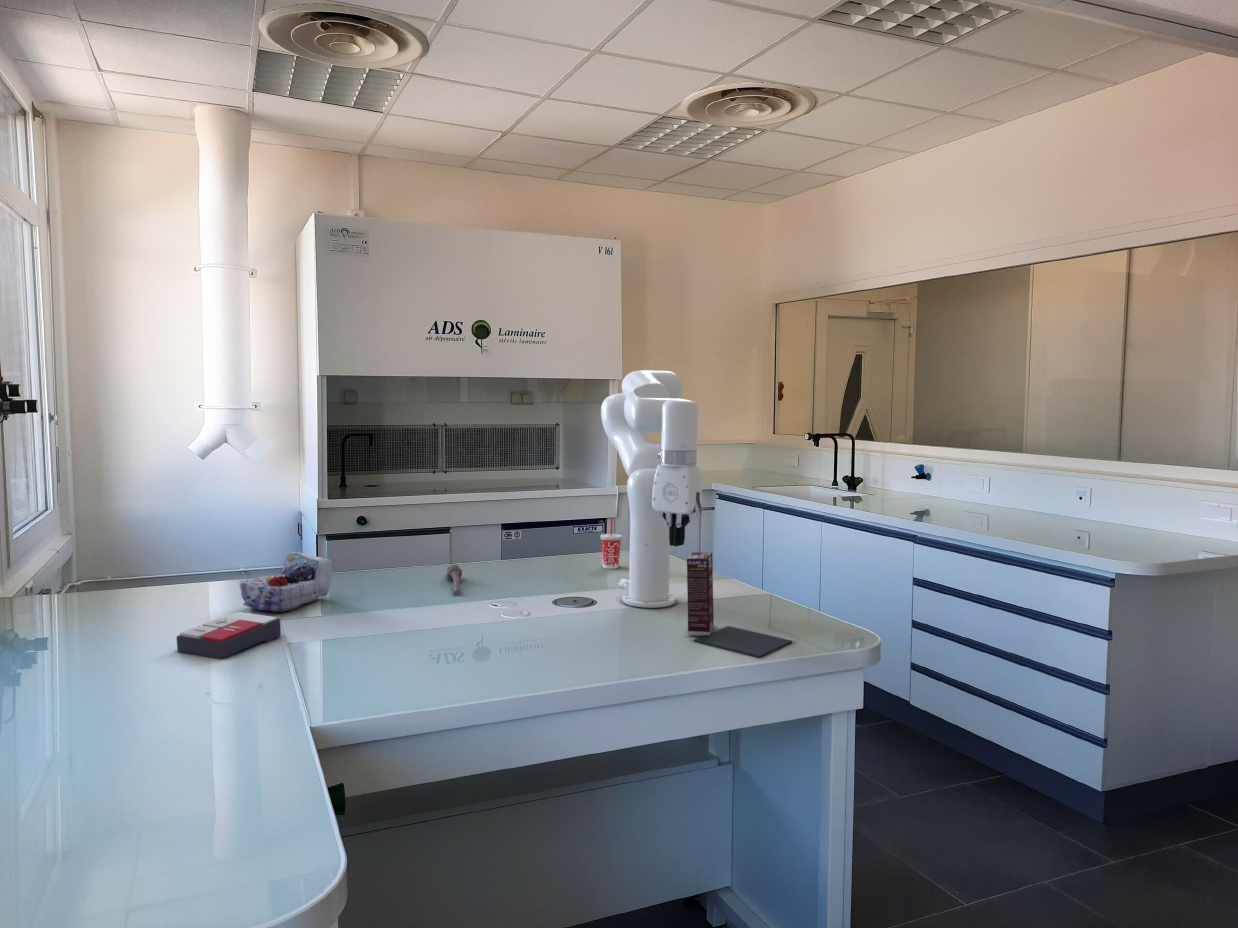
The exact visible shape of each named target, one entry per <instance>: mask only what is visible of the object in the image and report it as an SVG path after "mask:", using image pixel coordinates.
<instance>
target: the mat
mask: <svg viewBox="0 0 1238 928" xmlns="http://www.w3.org/2000/svg"><path fill="white" fill-rule="evenodd" d="M693 642H695V643H699V644H704V645H707V646H710V647H715V648H719V649H722V650H727V651H731V652H735V653H739V654H743V655H747V656H751V657H754V658H762V657H765V656H767V655H768V654H771V653H772V652H775V651H778V650H779V649H782V648H783V647H786V646H787V645H790V644H792V643H793V640H791V639H787V638H782V637H778V636H774V635H769V634H765V633H760V632H756V631H752V630H747V629H744V628H739V627H734V626H730V625H727V626H725V627H723V628H719V629H718V630H714V631H711V633H710V636H698V637H697V638H694V639H693Z"/></svg>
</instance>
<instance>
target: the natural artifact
mask: <svg viewBox="0 0 1238 928" xmlns="http://www.w3.org/2000/svg"><path fill="white" fill-rule="evenodd" d="M462 574H463V570H462V569H461V568H460V566H459V565H457V564H451V565H450V566H449V567H447V570H446V574H445V575H446V577H447V578H448V579H449V581H451V582H453V584H452V586H453V588H454V589H453V594H454V595H455V596H458V595H459V594H460V587H461V586H460V583H461V578H462V576H463V575H462Z"/></svg>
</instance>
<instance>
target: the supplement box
mask: <svg viewBox="0 0 1238 928" xmlns="http://www.w3.org/2000/svg"><path fill="white" fill-rule="evenodd" d="M713 565H714V564H713V552H704V551H703V552H699V551H698V552H697V551H696V552H695V551H693V552H691V554H690V555H689V557H687V558H686V585H687V586H686V587H687V589H686V590H687V591H686V592H687V635H688V636H692V637H693V636H694V637H702V636H710V633H712V630H713V628H714V625H715V624H714V621H715V619H714V617H715V615H714V576H713V575H714V574H713V572H714V570H713V568H714V566H713Z"/></svg>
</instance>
